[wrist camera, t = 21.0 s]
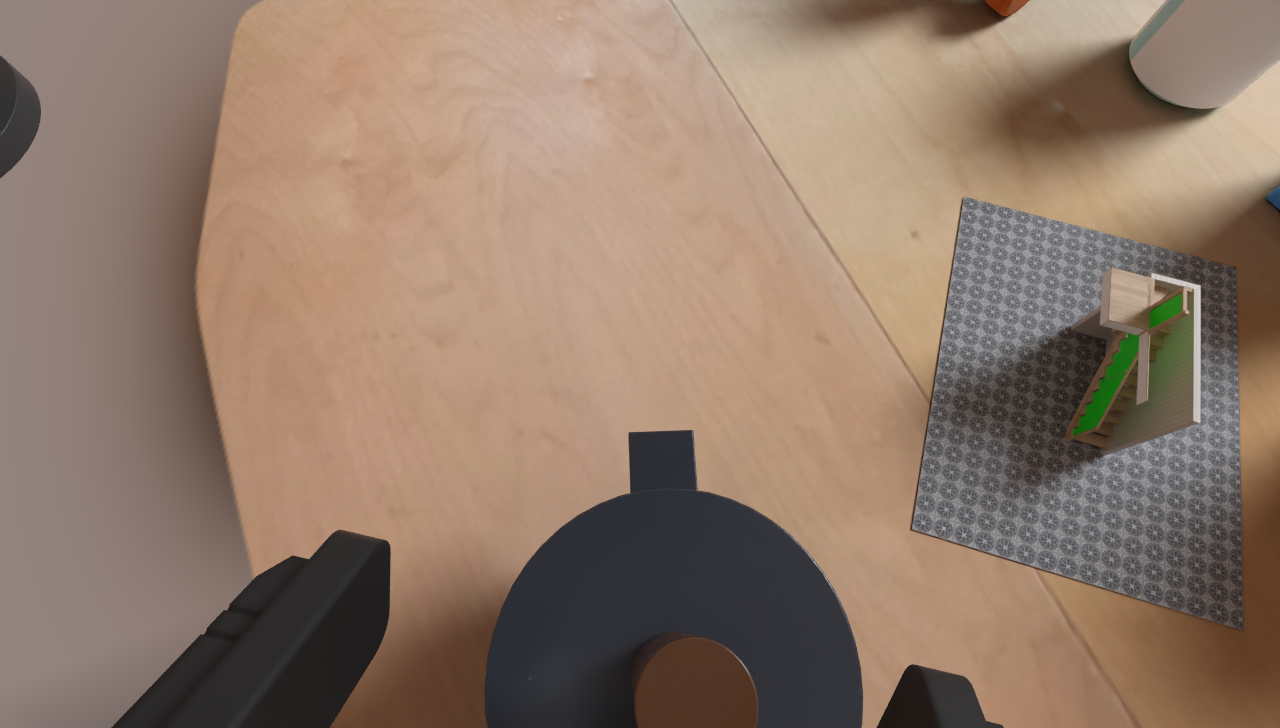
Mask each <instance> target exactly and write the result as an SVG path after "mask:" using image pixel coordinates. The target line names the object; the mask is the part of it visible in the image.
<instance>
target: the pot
mask: <svg viewBox="0 0 1280 728" xmlns="http://www.w3.org/2000/svg"><path fill="white" fill-rule="evenodd" d="M629 466H630V493H634V492H638V491H642V490H652V489H662V488H674V489H691V490H697V491H698V489H697V475H696V461H695V447H694V433H693V430H682V431H653V432H630V433H629Z"/></svg>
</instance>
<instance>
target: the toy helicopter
mask: <svg viewBox="0 0 1280 728" xmlns="http://www.w3.org/2000/svg"><path fill="white" fill-rule="evenodd" d="M985 1H986V3H987V4H988V5H989V6H990V7H991V8H993V9H994V10H995V11H996V12H998V13H999V14H1000V15H1003V16H1008V15H1011V14H1013V13H1015V12H1016V11H1018V10H1019V9H1020V8H1022V7H1023V6H1024V5H1025V4H1026V3H1027V2H1028V1H1029V0H985Z"/></svg>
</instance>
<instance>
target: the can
mask: <svg viewBox="0 0 1280 728" xmlns="http://www.w3.org/2000/svg"><path fill="white" fill-rule="evenodd" d="M1129 57H1130V62H1131V65H1132V68H1133V70H1134V72H1135V74H1136V75H1137V77H1138V79H1139V81H1140V82H1141V83H1142V85H1143V86H1144V87H1145V88H1146V89H1147V90H1148V91H1149V92H1151V93H1152V94H1153V95H1155V96H1156V97H1158V98H1160V99H1162V100H1164V101H1166V102H1168V103H1171V104H1174V105H1178V106H1184V107H1189V108H1199V109H1208V108H1216V107H1220V106H1223V105H1226V104H1228V103H1230V102H1231V101H1233V100H1234V99H1235V98H1236V97H1237V96H1239V95H1240V94H1241V93H1242V92H1243V91H1244V90H1246V89H1247V88H1248V87H1249V86H1250V85H1251V84H1253V83H1254V82H1255V81H1256V80H1257V79H1258V78H1260V77H1261V76H1262V75H1263V74H1264V73H1265V72H1267V71H1268V70H1269V69H1270V68H1271V67H1272V66H1274V65H1275V64H1276V63H1277V62H1278V61H1279V60H1280V0H1166V1H1165V2H1164V3H1163V5H1162V6H1161V7H1160V8H1159V9H1158V10H1157V11H1156V13H1155V14H1154V15H1153V16H1152V17H1151V18H1150V19H1149V21H1148V22H1147V23H1146V24H1145V25H1144V26H1143V28H1142V29H1141V30H1140V31H1139V32H1138V33H1137V34H1136V36H1135V37H1134V38H1133V40H1132V42H1131V45H1130V49H1129Z"/></svg>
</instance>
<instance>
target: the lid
mask: <svg viewBox="0 0 1280 728" xmlns="http://www.w3.org/2000/svg"><path fill="white" fill-rule="evenodd" d="M485 714H486V721H487V728H861V727H862V714H863V688H862V677H861V667H860V662H859V657H858V652H857V647H856V643H855V639H854V636H853V633H852V630H851V627H850V624H849V621H848V618H847V615H846V613H845V611H844V609H843V607H842V605H841V602H840V600H839V598H838V596H837V594H836V592H835V590H834V589H833V587H832V585H831V584H830V582H829V581H828V579H827V577H826V576H825V574H824V572H823V571H822V570H821V568H820V567H819V566H818V565H817V563H816V562H815V561H814V560H813V558H812V557H811V556H810V554H809V553H808V552H807V551H806V550H805V549H804V548H803V547H802V546H801V545H800V544H799V543H798V542H797V541H796V540H795V539H794V538H793V537H792V536H791V535H790V534H789V533H787V532H786V531H785V530H784V529H782V528H781V527H780V526H778V525H777V524H776V523H775V522H773V521H772V520H771V519H769V518H767V517H766V516H764V515H762V514H761V513H759V512H757V511H756V510H754V509H752V508H750V507H748V506H746V505H743V504H741V503H739V502H737V501H734V500H732V499H729V498H726V497H723V496H719V495H716V494H712V493H709V492H703V491H697V490H691V489H674V488H662V489H652V490H642V491H638V492H634V493H630V494H625V495H621V496H618V497H616V498H613V499H610V500H608V501H605V502H603V503H600V504H598V505H596V506H594V507H592V508H590V509H589V510H587V511H585V512H583V513H581V514H579V515H578V516H576V517H575V518H574V519H572V520H571V521H569V522H568V523H567V524H565V525H564V526H562V527H561V528H560V529H559V530H558V531H556V532H555V533H554V534H553V535H552V536H551V537H550V538H549V539H548V540H547V541H546V542H545V543H544V544H543V545H542V546H541V547H540V548H539V549H538V550H537V552H536V553H535V554H534V555H533V556H532V558H531V559H530V560H529V561H528V562H527V564H526V565H525V567H524V568H523V570H522V571H521V573H520V574H519V576H518V577H517V579H516V581H515V582H514V584H513V585H512V588H511V590H510V592H509V594H508V596H507V598H506V600H505V602H504V604H503V606H502V608H501V611H500V614H499V617H498V620H497V623H496V626H495V628H494V631H493V635H492V640H491V644H490V649H489V654H488V658H487V668H486V678H485Z"/></svg>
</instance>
